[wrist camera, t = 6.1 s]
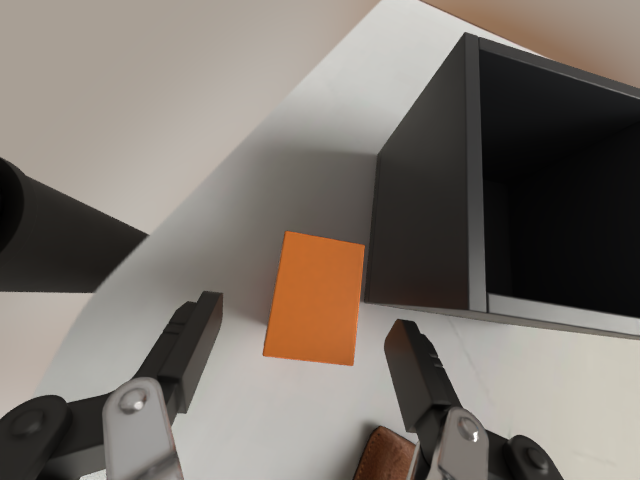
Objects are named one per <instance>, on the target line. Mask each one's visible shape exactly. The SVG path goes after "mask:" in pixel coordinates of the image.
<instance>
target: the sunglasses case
mask: <svg viewBox="0 0 640 480" xmlns="http://www.w3.org/2000/svg"><path fill="white" fill-rule="evenodd" d="M415 447H416V445H415V444H413V443H412V442H410V441H409V440H407V439H405V438H404V437H402V436H400V435H398V434H397V433H395V432H393V431H391V430H390V429H388V428H386V427H383V426H379V427H378V428H376V429H375V430H374V431H373V432H372V433H371V434H370V436H369V439H368V441H367V444H366V446H365V448H364V451H363V453H362V455H361V458H360V460H359V463H358V466H357V469H356V471H355V474H354V477H353V479H352V480H406V478H407V475H408V471H409V468H410V464H411V461H412V457H413V454H414V450H415Z"/></svg>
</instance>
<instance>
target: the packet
mask: <svg viewBox="0 0 640 480" xmlns="http://www.w3.org/2000/svg"><path fill="white" fill-rule="evenodd" d="M364 249H365V245H362V244H357V243H351V242H346V241H340V240H335V239H329V238H324V237H318V236H313V235H307V234H301V233H296V232H290V231H285V234H284V240H283V243H282V248H281V254H280V259H279V265H278V270H277V275H276V281H275V286H274V292H273V297H272V303H271V308H270V313H269V319H268V324H267V330H266V335H265V341H264V349H263V356H266V357H275V358H284V359H293V360H302V361H312V362H321V363H330V364H339V365H348V366H353V364H354V353H355V343H356V332H357V322H358V312H359V301H360V291H361V281H362V270H363V260H364Z"/></svg>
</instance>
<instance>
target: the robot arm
mask: <svg viewBox="0 0 640 480" xmlns="http://www.w3.org/2000/svg"><path fill="white" fill-rule="evenodd" d="M3 203H4V202H3V194H2V190H1V188H0V219H1V216H2V212H3ZM222 316H223V293H218V292H211V291H203V292H202V294H201V296H200V298H199V299H198V301H197V303H196V302H189V301H187V302H186V303H185V304H184V305H182V306H181V307H180V308H178V309H177V310H176V311H175V313H174V315H173V316H172V318H171V319H170V321H169V324H167V326H166V327H165V329H164V330H163V333H162V334H161V335H160V337H159V338H158V340H157V341H156V343H155V345H154V346H153V348H152V349H151V351H150V352H149V354H148V356H147V357H146V359H145V360H144V362H143V364H142V365H141V367H140V368H139V370H138V371H137V373H136V374H135V375H134V376H133V377H132V378H131V379H130V380H129V381H128V382H126V383H124V384H122V385H121V386H120V387H118V388H117V389H116V390H114V391H112V392H110V393H107V394H104V395H101V396H96V397H92V398H87V399H82V400H78V401H73V402H69V403H66V401H65V400H64V399H63V398H62V397H60V396H57V395H45V396H40V397H36V398H33V399H31V400H28V401H26V402H24V403H22V404H20V405H19V406H17V407H16V408H14V409H12V410H11V411H10V412H8V413H7V414H6V415H5V416H3V417H2V418H1V419H0V480H79V479H80V477H81V476H84V475H87V474H91V473H94V472H97V471H100V470H103V469H106V476H107V480H184V478H183V474H182V470H181V466H180V462H179V458H178V454H177V451H176V447H175V442H174V438H173V434H172V430H171V426H172V424H173V422H174V419H175V417H176V415H177V413H184V414H186V413H187V411H188V408H189V406H190V403H191V400H192V398H193V395H194V393H195V390H196V388H197V385H198V383H199V380H200V378H201V375H202V373H203V370H204V368H205V365H206V363H207V360H208V358H209V355H210V353H211V350H212V348H213V345H214V343H215V340H216V338H217V335H218V333H219V330H220V327H221V323H222ZM384 351H385V355H386V359H387V363H388V366H389V370H390V374H391V377H392V381H393V385H394V389H395V392H396V396H397V400H398V403H399V407H400V411H401V414H402V418H403V422H404V425H405V429H406V432H410V433H417V435H418V438H419V440H418V442H417V444H416V447H415V450H414V454H413V457H412V461H411V464H410V468H409V471H408V475H407V478H406V480H564V479H563V478H562V476H561V474H560V473H559V471H558V469H557V468H556V466H555V464H554V463H553V461H552V460H551V458H550V457H549V456H548V454H547V453H546V452H545V451H544V450H543V449H542V448H541V447H540V446H539V445H538V444H537V443H536V442H534V441H533V440H531V439H530V438H528V437H526V436H523V435H516V436H514V437H513V438H511V439H510V440H508V439H506V438H504V437H501V436H499V435H497V434H495V433H493V432H491V431H488V430H486V429H484V427H483V426H482V424H481V423H480V421H479V420H478V419H477V418H476V417H475V416H474V415H473V414H472V413H470V412H469V411H467V410H466V409H464V408H463V407H462V405H461V403H460V401H459V399H458V397H457V395H456V393H455V391H454V389H453V386H452V384H451V382H450V380H449V378H448V376H447V374H446V372H445V369H444V368H443V367H442V366H443V365H442V363H441V361H440V359H439V358H438V355H437V352H436V350H435V348H434V346H433V344H432V343H431V342H430V341H429V340H428V338H427V337H426V336H425V335H424V334H421V333H420V331H419V329H418V327H417V325H416V323H415V322H414V321H408V320H401V319H397V320H396V321H395V323H394V325H393V326H392V328H391V330H390V332H389V333H388V335H387V337H386V339H385V343H384Z"/></svg>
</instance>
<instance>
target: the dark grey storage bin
mask: <svg viewBox="0 0 640 480" xmlns="http://www.w3.org/2000/svg"><path fill="white" fill-rule="evenodd" d="M364 303H368V304H375V305H382V306H389V307H395V308H402V309H409V310H416V311H422V312H429V313H436V314H443V315H449V316H456V317H463V318H470V319H476V320H483V321H490V322H497V323H503V324H510V325H518V326H526V327H535V328H543V329H551V330H559V331H567V332H576V333H584V334H592V335H600V336H609V337H617V338H625V339H633V340H640V89H639V88H636V87H633V86H630V85H627V84H624V83H621V82H618V81H614V80H611V79H608V78H605V77H602V76H599V75H596V74H593V73H590V72H587V71H584V70H581V69H578V68H574V67H571V66H568V65H565V64H562V63H559V62H556V61H553V60H550V59H547V58H544V57H541V56H537V55H534V54H531V53H528V52H525V51H522V50H519V49H516V48H513V47H510V46H507V45H504V44H500V43H497V42H494V41H491V40H488V39H485V38H482V37H478V36H476V35H473V34H470V33H467V32H465V33H464V34H463V35H462V37H461V38H460V39H459V41H458V42H457V44H456V45H455V46H454V48H453V49H452V51H451V52H450V53H449V55H448V56H447V58H446V59H445V61H444V62H443V63H442V65H441V66H440V68H439V69H438V70H437V72H436V73H435V75H434V76H433V77H432V79H431V80H430V82H429V83H428V84H427V86H426V87H425V89H424V90H423V91H422V93H421V94H420V96H419V97H418V98H417V100H416V101H415V103H414V104H413V105H412V107H411V108H410V110H409V111H408V112H407V114H406V115H405V117H404V118H403V119H402V121H401V122H400V124H399V125H398V127H397V128H396V129H395V131H394V132H393V134H392V135H391V136H390V138H389V139H388V141H387V142H386V143H385V145H384V146H383V148H382V149H381V151H380V152H379V153H378V156H377V167H376V178H375V189H374V200H373V211H372V221H371V232H370V243H369V254H368V265H367V276H366V287H365V298H364Z"/></svg>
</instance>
